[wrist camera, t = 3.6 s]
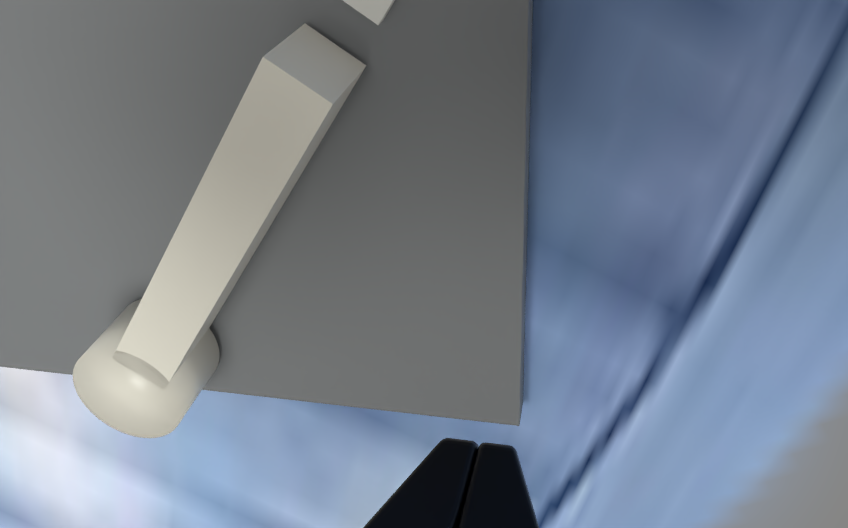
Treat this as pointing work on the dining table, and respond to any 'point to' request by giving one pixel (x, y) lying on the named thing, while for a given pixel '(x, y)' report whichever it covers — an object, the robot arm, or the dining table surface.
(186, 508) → the dining table surface
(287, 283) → the dial board
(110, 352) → the beige wooden bar
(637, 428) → the dining table surface
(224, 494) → the dining table surface
